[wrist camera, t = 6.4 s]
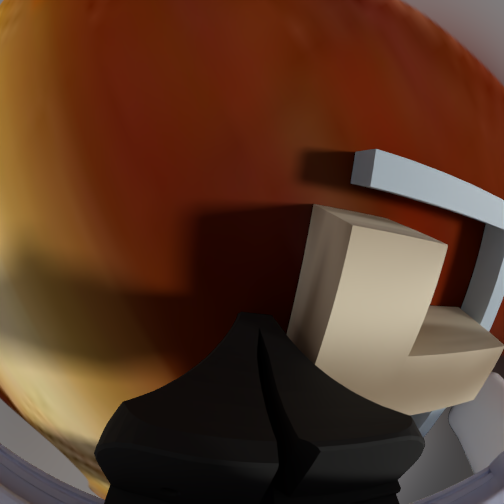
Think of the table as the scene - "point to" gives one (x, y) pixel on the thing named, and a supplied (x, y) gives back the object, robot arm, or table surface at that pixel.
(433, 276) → the t block
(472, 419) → the drinking glass
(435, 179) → the bracket
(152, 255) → the table surface
